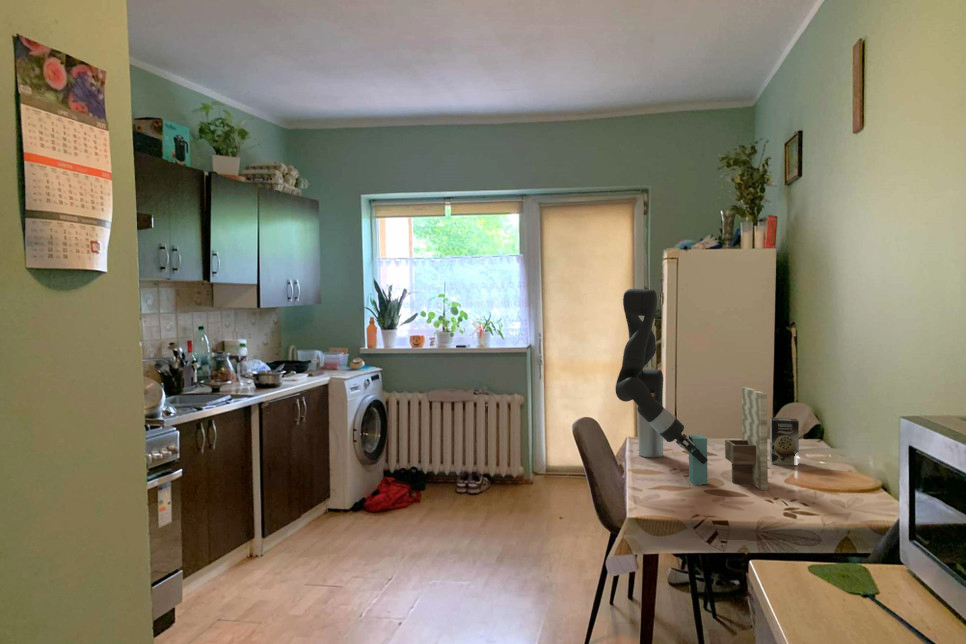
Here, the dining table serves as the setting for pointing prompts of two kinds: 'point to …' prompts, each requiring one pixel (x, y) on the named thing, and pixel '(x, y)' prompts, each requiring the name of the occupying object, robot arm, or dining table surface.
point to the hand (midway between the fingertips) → (702, 459)
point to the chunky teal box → (695, 466)
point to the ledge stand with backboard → (750, 442)
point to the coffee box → (783, 440)
